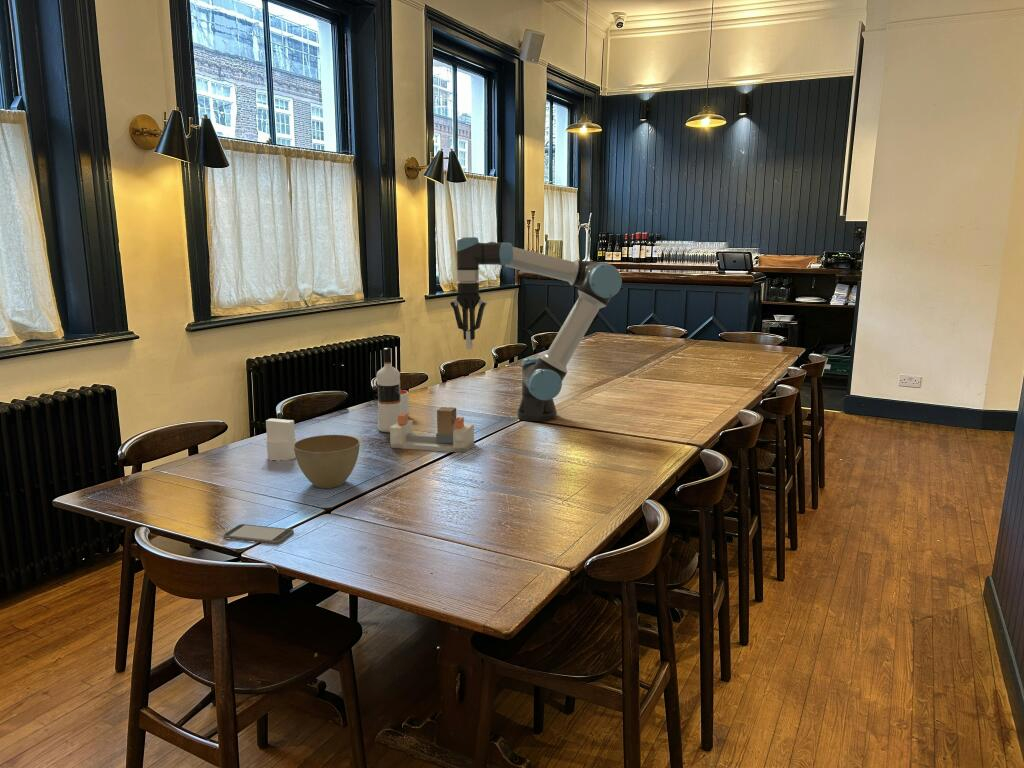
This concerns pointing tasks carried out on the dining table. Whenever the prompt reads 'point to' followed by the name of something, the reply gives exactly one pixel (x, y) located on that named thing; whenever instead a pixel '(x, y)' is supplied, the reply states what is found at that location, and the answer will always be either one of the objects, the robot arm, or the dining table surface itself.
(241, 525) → the smartphone
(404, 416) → the gauge plunger
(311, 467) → the tan bowl
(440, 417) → the carriage
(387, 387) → the vodka
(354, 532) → the dining table surface
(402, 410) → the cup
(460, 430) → the linear slide base
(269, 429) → the base with upright slab
